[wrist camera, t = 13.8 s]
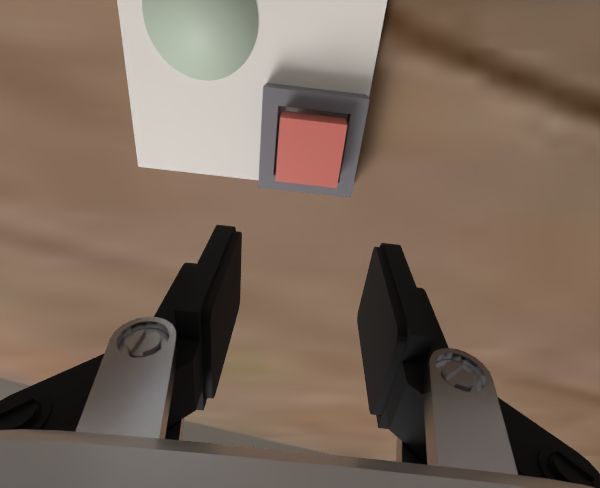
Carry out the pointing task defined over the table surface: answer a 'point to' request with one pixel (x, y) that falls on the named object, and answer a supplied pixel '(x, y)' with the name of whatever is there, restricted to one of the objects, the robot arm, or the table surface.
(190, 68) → the picture board
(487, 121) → the table surface
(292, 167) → the button
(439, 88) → the table surface
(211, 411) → the table surface
